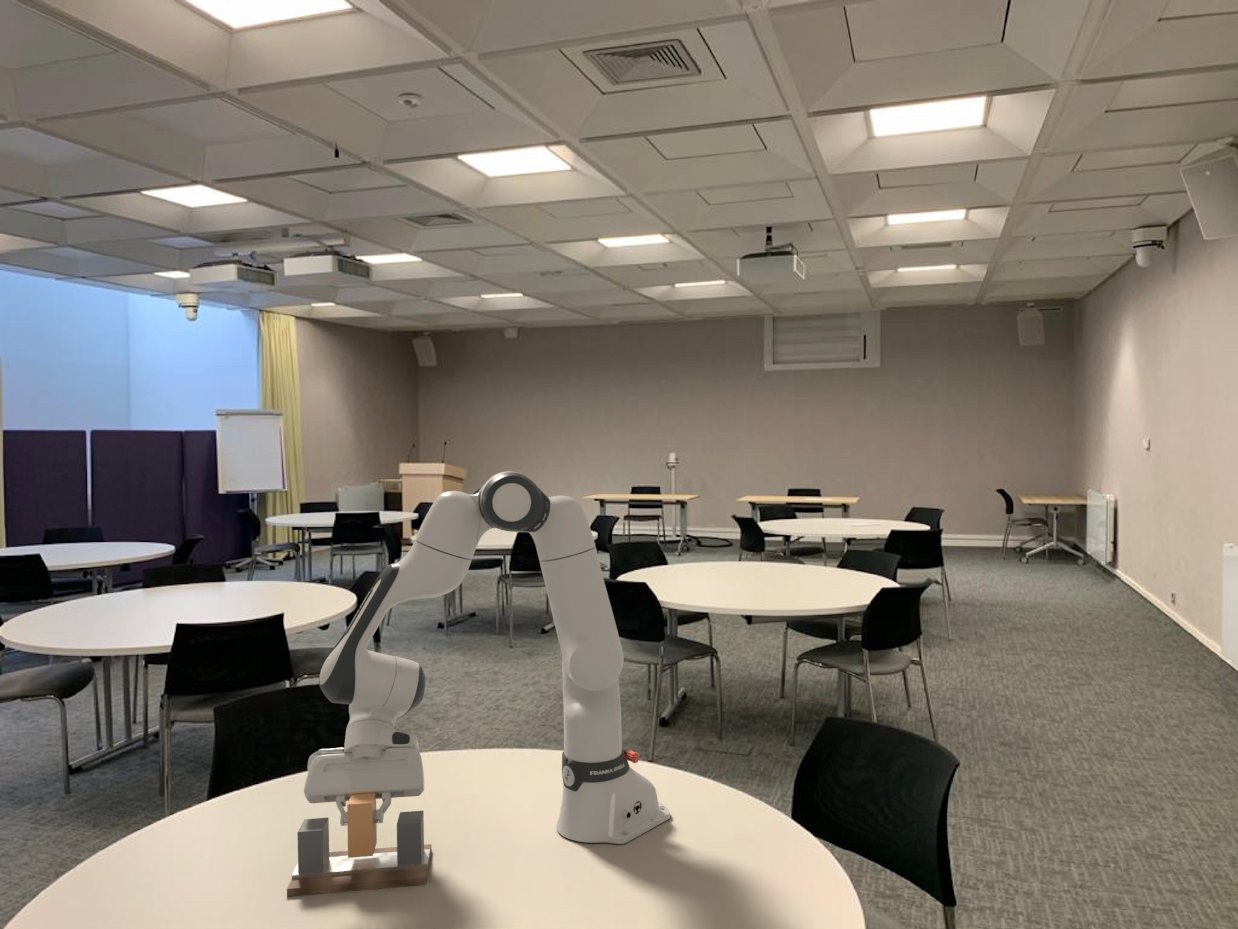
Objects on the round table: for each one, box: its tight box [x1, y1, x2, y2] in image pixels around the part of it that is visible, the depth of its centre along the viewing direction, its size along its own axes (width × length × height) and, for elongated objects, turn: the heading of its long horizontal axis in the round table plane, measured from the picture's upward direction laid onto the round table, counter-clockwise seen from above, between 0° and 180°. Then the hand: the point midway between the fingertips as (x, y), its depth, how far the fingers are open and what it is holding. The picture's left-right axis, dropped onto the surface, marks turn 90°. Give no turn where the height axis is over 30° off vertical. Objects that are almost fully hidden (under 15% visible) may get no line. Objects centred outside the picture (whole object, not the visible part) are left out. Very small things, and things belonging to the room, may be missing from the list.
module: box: [346, 793, 378, 858], centre depth 143 cm, size 4×5×9 cm
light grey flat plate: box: [291, 849, 430, 879], centre depth 143 cm, size 22×6×1 cm, turn 98°
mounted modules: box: [297, 810, 425, 874], centre depth 143 cm, size 20×5×7 cm, turn 98°
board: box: [286, 843, 433, 897], centre depth 143 cm, size 22×12×1 cm, turn 98°
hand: (361, 823), depth 142 cm, fingers closed on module, 4 cm apart
